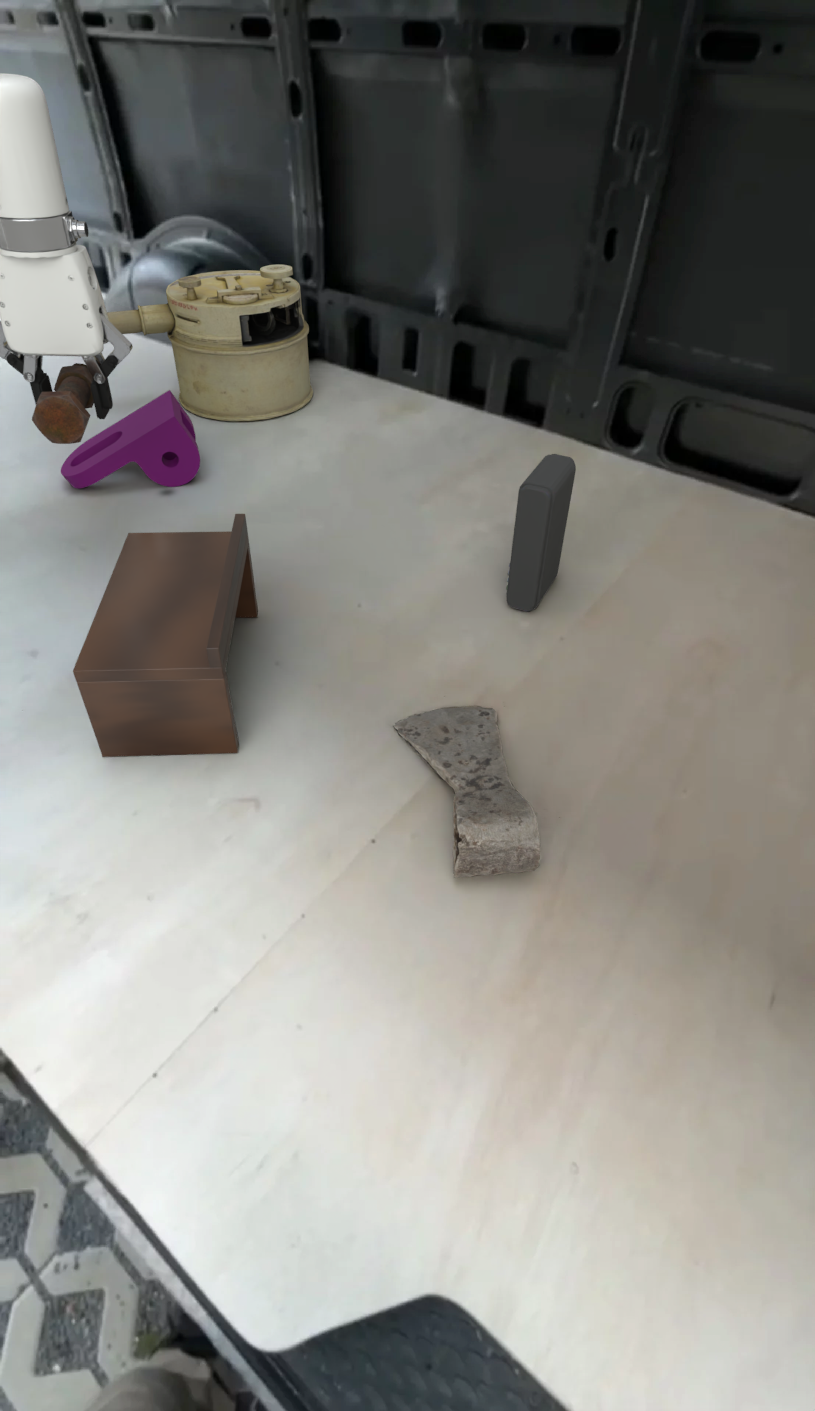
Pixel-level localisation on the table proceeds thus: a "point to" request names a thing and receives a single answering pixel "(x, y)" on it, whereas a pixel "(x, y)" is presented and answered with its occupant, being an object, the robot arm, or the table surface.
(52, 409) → the bolt
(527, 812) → the axe head
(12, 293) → the robot arm
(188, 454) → the mounting bracket
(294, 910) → the table surface
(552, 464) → the card reader
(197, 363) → the mechanical device
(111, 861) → the table surface
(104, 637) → the shelf
